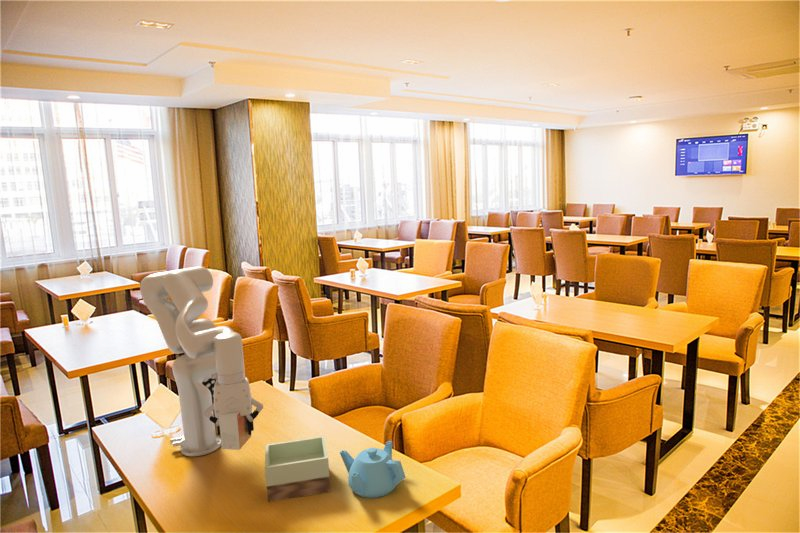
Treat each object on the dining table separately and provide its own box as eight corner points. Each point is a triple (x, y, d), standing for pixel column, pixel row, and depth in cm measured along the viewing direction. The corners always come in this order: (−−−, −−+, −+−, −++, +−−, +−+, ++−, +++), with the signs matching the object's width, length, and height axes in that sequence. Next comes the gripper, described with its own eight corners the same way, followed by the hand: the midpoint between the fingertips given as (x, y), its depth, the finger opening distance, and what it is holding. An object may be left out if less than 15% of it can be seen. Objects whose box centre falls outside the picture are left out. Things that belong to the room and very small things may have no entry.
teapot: (351, 507, 138) (348, 469, 136) (341, 477, 152) (338, 442, 150) (408, 495, 142) (406, 458, 140) (392, 467, 156) (390, 432, 154)
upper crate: (266, 486, 141) (264, 467, 140) (267, 461, 154) (265, 444, 153) (329, 476, 145) (328, 458, 144) (325, 452, 157) (324, 435, 156)
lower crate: (268, 502, 142) (266, 486, 141) (268, 476, 154) (267, 461, 154) (330, 491, 145) (329, 476, 145) (326, 466, 158) (325, 452, 157)
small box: (240, 450, 150) (236, 415, 148) (221, 449, 150) (217, 414, 149) (251, 436, 157) (249, 402, 156) (233, 435, 158) (230, 402, 156)
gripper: (196, 385, 145) (202, 445, 148) (262, 378, 149) (267, 437, 152) (200, 374, 152) (206, 432, 155) (263, 368, 156) (267, 424, 159)
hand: (236, 434), depth 154 cm, fingers closed on small box, 7 cm apart
